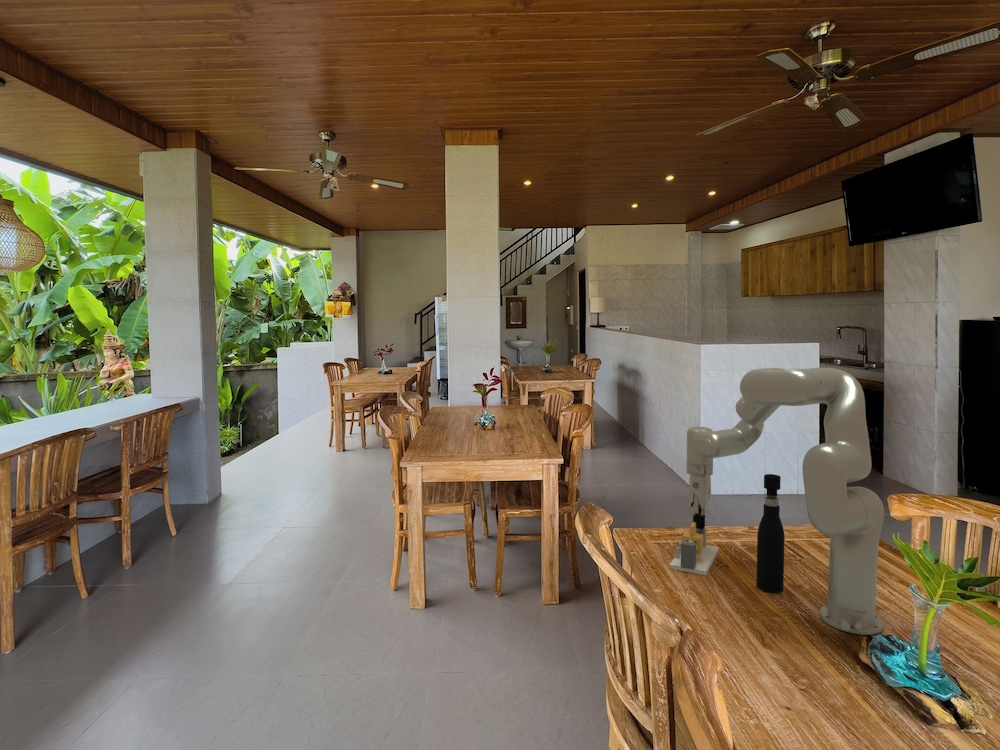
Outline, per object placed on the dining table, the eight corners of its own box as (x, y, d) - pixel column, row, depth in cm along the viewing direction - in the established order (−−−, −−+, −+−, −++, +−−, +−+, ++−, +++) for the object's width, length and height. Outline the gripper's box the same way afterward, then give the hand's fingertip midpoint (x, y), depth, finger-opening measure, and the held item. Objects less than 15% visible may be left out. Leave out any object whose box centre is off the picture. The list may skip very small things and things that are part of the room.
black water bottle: (755, 590, 150) (757, 477, 148) (757, 580, 156) (759, 471, 154) (782, 595, 147) (785, 480, 145) (783, 585, 153) (786, 474, 151)
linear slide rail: (705, 576, 159) (706, 548, 159) (669, 569, 164) (669, 541, 164) (718, 550, 177) (719, 525, 176) (685, 545, 182) (685, 520, 181)
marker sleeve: (700, 555, 165) (700, 527, 164) (682, 552, 167) (682, 525, 167) (703, 551, 168) (703, 523, 168) (685, 547, 171) (685, 520, 170)
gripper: (708, 475, 165) (707, 538, 166) (717, 464, 178) (716, 522, 179) (681, 472, 169) (680, 533, 170) (691, 461, 182) (691, 518, 183)
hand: (698, 527), depth 175 cm, fingers closed
